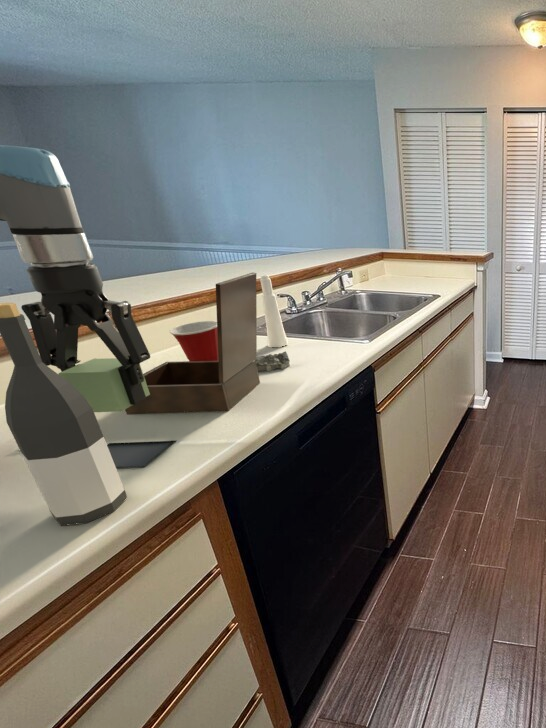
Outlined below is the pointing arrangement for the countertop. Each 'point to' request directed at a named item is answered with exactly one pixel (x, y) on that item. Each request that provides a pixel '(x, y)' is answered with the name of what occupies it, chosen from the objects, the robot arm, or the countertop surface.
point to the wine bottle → (57, 432)
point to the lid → (236, 324)
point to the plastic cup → (198, 340)
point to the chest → (194, 388)
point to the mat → (136, 453)
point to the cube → (101, 384)
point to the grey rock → (272, 361)
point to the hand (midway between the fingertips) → (113, 401)
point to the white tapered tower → (272, 315)
